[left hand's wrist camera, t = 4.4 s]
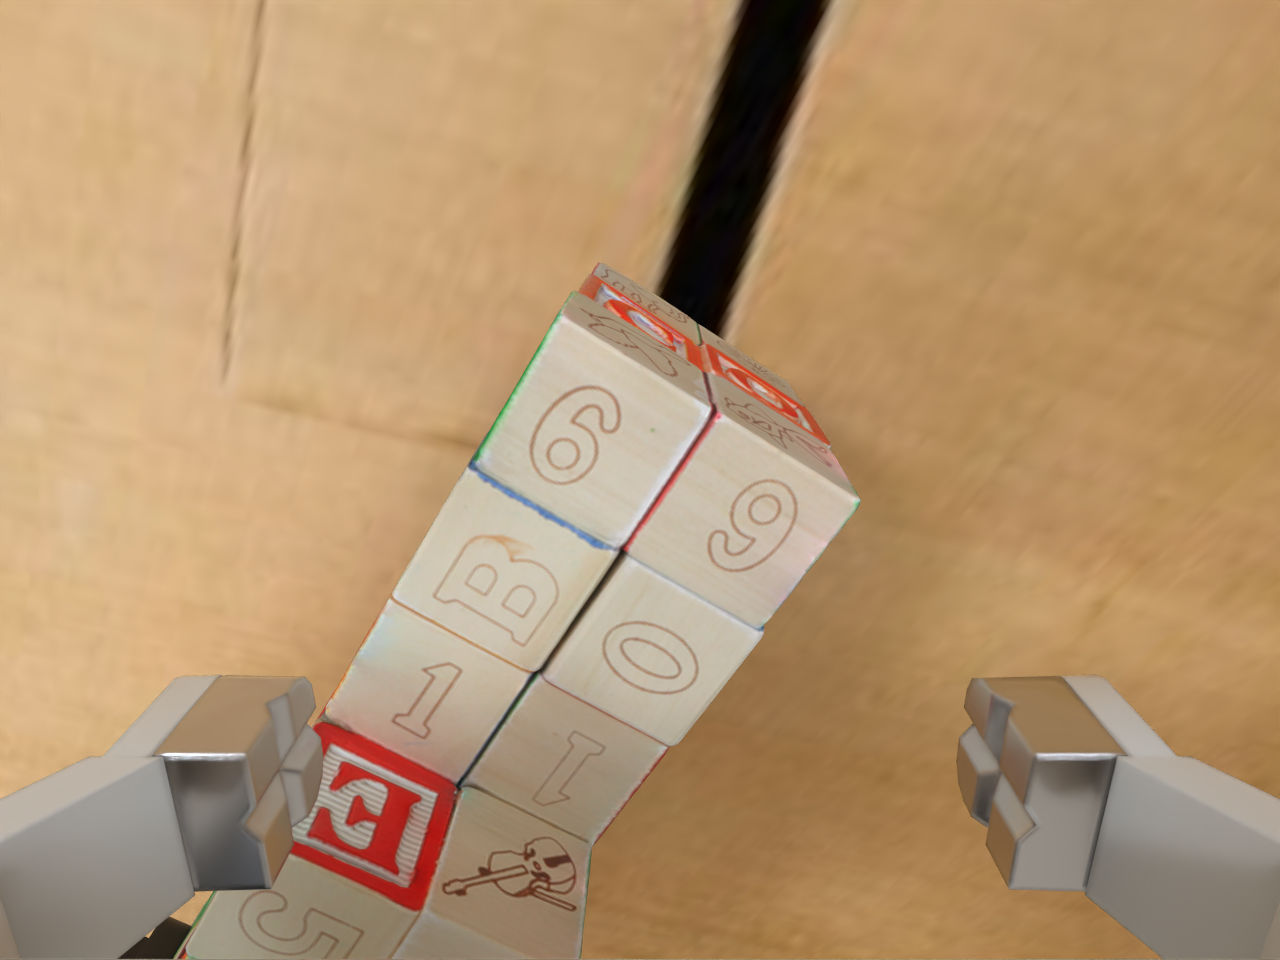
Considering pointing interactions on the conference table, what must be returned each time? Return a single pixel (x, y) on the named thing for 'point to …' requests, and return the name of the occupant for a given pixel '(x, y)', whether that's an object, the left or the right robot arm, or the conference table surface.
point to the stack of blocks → (548, 644)
